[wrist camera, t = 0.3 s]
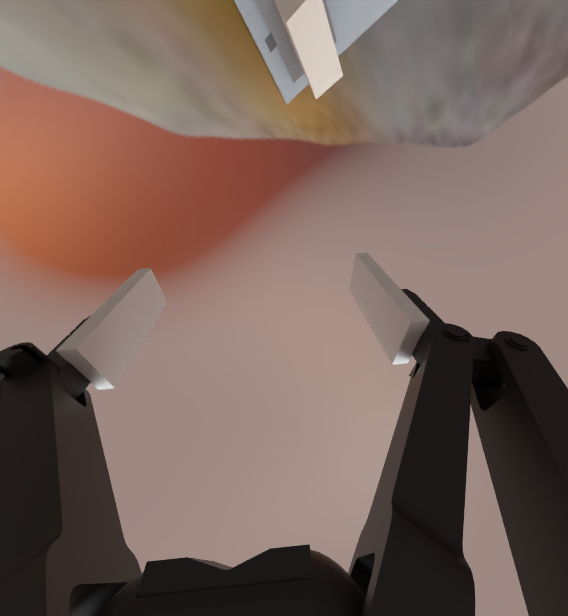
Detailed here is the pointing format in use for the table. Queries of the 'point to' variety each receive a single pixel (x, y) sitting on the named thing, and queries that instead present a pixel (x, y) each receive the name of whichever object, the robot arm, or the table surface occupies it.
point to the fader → (304, 40)
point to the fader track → (346, 23)
